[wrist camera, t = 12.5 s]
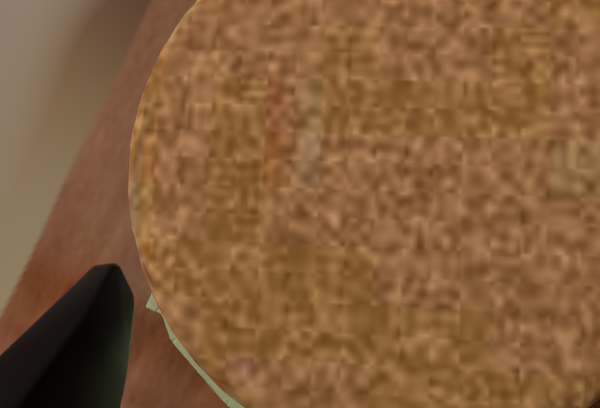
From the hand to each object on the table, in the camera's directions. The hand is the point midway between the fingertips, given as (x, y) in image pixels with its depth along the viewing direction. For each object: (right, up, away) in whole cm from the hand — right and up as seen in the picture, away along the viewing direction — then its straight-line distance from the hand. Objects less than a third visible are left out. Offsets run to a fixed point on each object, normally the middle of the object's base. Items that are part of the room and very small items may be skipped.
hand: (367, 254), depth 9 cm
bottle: (+1, 0, +10) cm, 10 cm away
